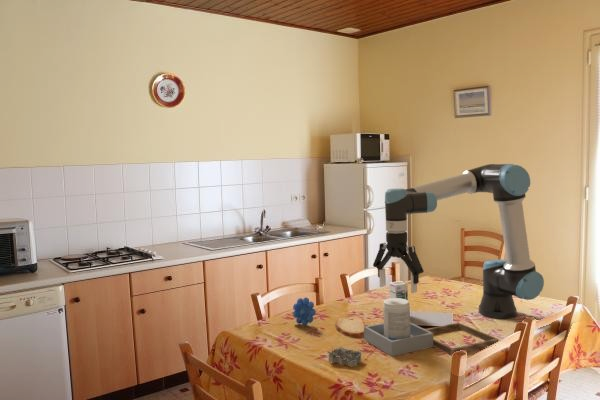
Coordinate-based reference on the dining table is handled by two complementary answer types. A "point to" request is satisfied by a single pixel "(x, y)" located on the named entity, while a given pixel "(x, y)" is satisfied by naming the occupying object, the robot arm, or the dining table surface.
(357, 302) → the dining table surface
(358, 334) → the bread slice
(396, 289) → the syrup box
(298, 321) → the grapes
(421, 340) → the grey bin
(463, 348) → the rim
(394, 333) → the supplement tub
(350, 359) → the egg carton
